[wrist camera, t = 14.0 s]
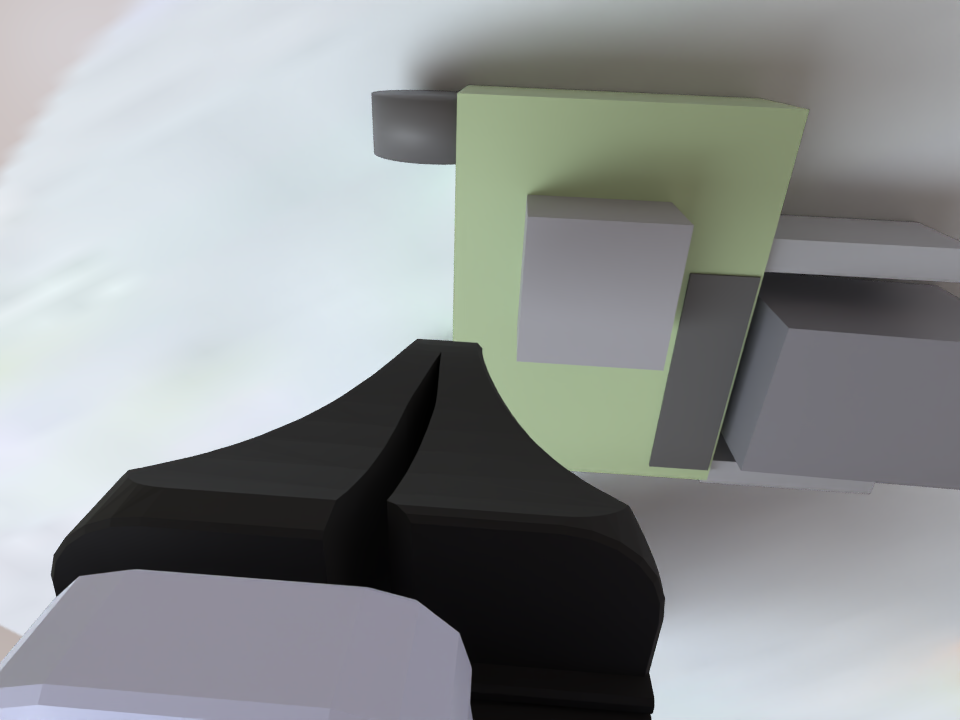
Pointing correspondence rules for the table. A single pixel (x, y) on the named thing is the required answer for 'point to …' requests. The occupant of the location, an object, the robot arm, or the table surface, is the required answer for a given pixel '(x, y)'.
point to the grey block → (849, 382)
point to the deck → (611, 161)
